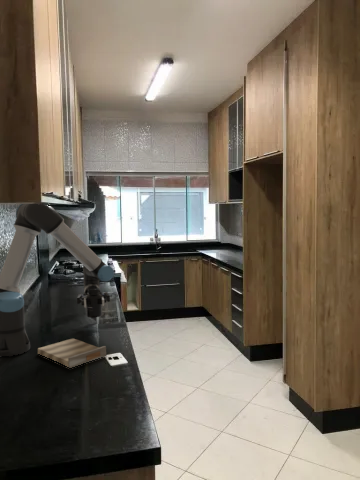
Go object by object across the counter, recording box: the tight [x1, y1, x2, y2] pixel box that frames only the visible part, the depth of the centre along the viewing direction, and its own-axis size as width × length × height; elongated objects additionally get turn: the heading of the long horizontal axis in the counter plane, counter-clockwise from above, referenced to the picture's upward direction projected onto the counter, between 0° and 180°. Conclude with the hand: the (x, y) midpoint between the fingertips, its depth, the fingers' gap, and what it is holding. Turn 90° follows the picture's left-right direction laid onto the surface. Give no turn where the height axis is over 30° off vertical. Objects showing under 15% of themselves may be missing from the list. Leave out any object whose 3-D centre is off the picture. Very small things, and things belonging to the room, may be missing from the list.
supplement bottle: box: [85, 287, 103, 319], centre depth 166 cm, size 7×7×12 cm
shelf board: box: [37, 337, 107, 369], centre depth 150 cm, size 23×16×4 cm
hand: (94, 303), depth 161 cm, fingers closed on supplement bottle, 7 cm apart
